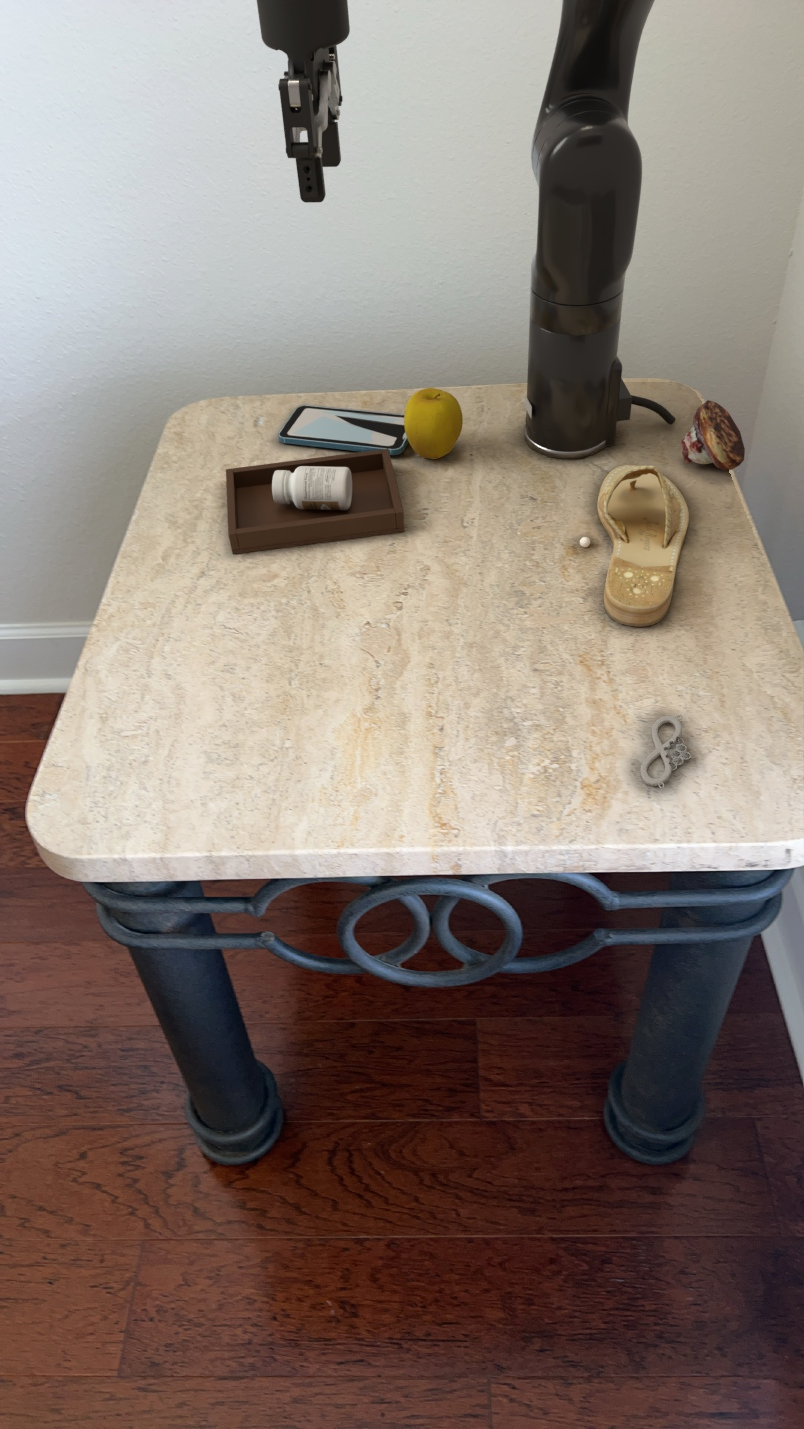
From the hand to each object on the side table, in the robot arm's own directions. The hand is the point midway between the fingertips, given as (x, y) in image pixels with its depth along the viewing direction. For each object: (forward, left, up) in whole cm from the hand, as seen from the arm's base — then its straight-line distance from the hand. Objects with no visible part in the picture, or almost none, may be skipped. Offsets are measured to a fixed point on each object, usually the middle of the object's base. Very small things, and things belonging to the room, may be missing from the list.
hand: (321, 182), depth 97 cm
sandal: (-26, +24, -28) cm, 45 cm away
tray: (+5, +12, -28) cm, 31 cm away
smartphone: (0, -2, -28) cm, 28 cm away
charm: (-19, +50, -28) cm, 60 cm away
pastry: (-39, +13, -24) cm, 47 cm away
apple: (-9, +4, -28) cm, 30 cm away
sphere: (-21, +27, -27) cm, 44 cm away
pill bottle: (+1, +13, -25) cm, 28 cm away
